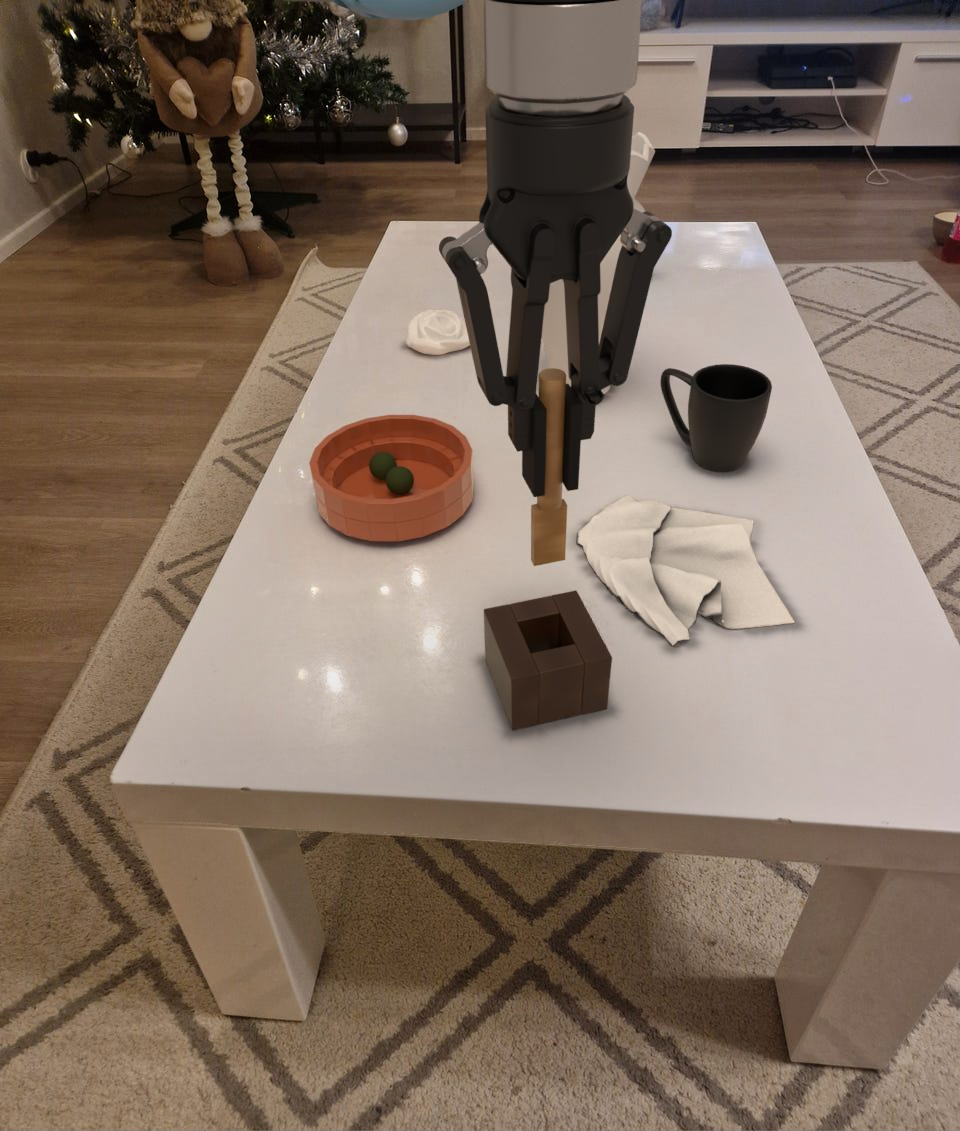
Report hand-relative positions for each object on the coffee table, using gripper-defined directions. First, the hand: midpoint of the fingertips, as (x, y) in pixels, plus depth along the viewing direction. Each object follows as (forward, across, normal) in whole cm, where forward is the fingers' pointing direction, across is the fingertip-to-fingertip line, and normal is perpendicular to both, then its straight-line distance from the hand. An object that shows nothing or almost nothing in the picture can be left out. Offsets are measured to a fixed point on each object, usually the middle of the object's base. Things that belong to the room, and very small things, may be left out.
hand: (549, 481), depth 58 cm
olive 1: (+18, +8, -33) cm, 38 cm away
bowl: (+20, +7, -29) cm, 36 cm away
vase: (+20, -20, -47) cm, 55 cm away
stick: (+7, 0, 0) cm, 7 cm away
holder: (+20, 0, 0) cm, 20 cm away
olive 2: (+18, +6, -29) cm, 35 cm away
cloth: (+20, -17, -10) cm, 28 cm away
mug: (+20, -28, -28) cm, 44 cm away
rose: (+20, -6, -65) cm, 68 cm away
